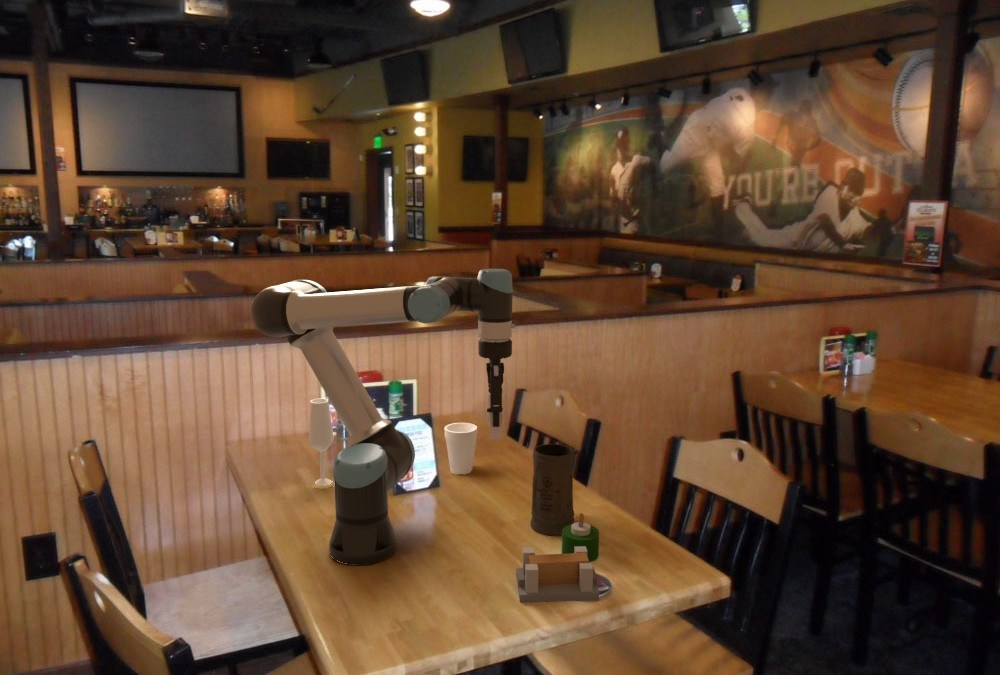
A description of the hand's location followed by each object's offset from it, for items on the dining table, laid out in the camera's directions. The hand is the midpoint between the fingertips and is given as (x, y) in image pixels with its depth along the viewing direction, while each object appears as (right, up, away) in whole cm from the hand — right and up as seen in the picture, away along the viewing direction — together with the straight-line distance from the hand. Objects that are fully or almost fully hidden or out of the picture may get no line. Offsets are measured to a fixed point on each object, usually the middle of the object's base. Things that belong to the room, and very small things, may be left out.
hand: (494, 430), depth 176 cm
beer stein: (+14, -24, +14) cm, 32 cm away
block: (+13, -29, -17) cm, 36 cm away
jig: (+13, -30, -16) cm, 37 cm away
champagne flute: (-48, -20, +37) cm, 63 cm away
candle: (+19, -28, -2) cm, 34 cm away
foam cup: (-10, -18, +47) cm, 52 cm away
